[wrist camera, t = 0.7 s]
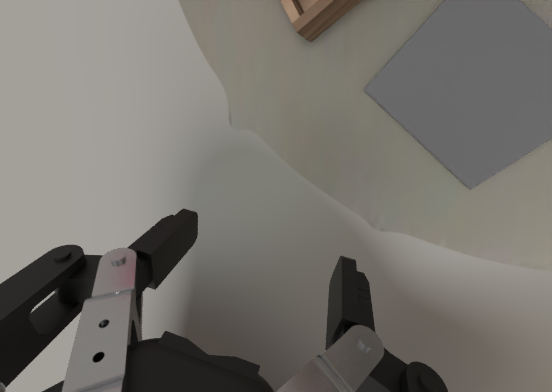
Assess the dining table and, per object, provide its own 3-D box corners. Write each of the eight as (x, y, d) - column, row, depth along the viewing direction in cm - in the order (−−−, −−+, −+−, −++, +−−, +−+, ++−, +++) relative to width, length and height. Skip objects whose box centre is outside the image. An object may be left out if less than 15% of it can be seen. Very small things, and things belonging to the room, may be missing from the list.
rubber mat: (364, 89, 31) (363, 89, 30) (476, -35, 23) (478, -38, 23) (468, 188, 30) (470, 189, 30) (617, 93, 23) (622, 93, 22)
